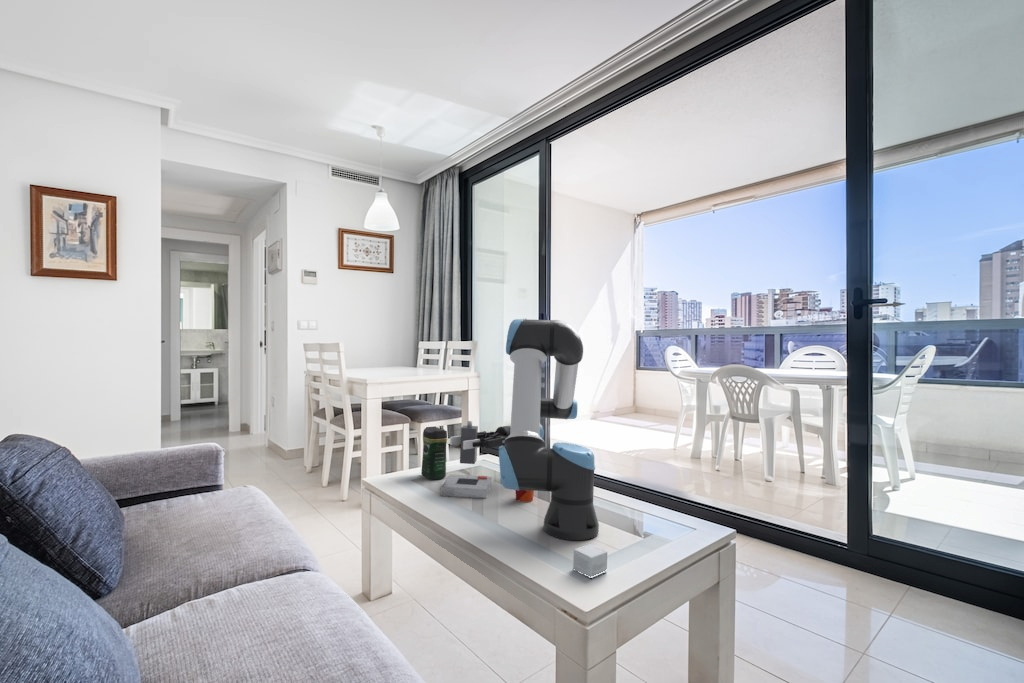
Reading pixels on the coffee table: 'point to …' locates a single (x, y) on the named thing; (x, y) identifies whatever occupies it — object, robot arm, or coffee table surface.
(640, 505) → the coffee table surface
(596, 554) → the small box
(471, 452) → the plug
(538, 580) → the coffee table surface
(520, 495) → the paper cup
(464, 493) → the socket plate
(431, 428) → the coffee jar
